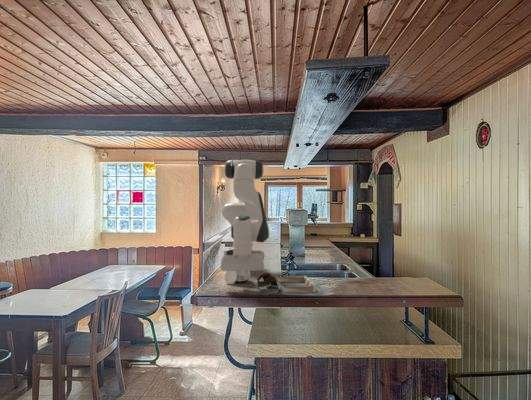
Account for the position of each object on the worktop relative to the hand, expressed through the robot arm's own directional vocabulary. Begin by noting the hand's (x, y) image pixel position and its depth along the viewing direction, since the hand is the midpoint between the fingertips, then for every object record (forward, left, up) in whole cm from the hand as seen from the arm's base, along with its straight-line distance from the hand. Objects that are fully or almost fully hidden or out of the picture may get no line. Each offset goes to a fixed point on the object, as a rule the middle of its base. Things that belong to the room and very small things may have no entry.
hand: (242, 280), depth 163 cm
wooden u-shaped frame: (-1, +25, -4) cm, 26 cm away
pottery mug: (+1, +12, -4) cm, 13 cm away
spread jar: (-11, -2, -4) cm, 12 cm away
